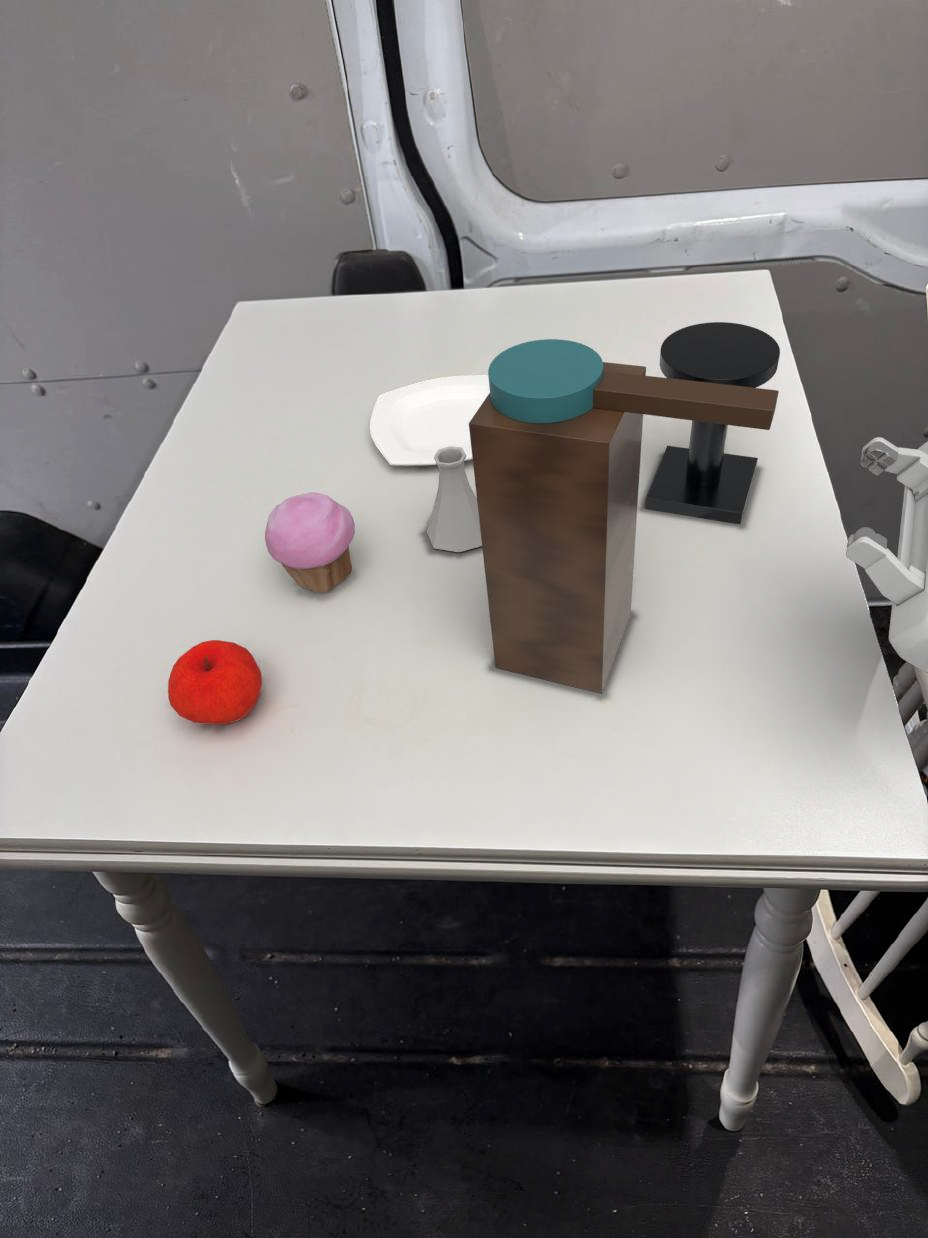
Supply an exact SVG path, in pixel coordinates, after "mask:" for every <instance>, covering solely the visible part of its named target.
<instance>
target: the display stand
mask: <svg viewBox="0 0 928 1238" xmlns="http://www.w3.org/2000/svg"><path fill="white" fill-rule="evenodd" d="M780 348H781V347H780V345H779V342H777V340H776V339H775V338H774V337H773V336H771V334H769V333H767V332H765V331H764V330H761V329H760V328H756V327H755V326H750V325H747V324H743V323H736V322H725V321H713V322H712V321H710V322H703V323H697V324H696V323H695V324H691V325H688V326H685V327H683V328H680V329H678V330H675V331H674V332H672V333H670V334H669V335H668V336H666V338H665V339H664V340H663V341H662V343H661V346H660V351H659V369H660V371H661V373H662V374H663V376H664V378H671V379H680V380H689V381H698V382H707V383H716V384H725V385H734V386H743V387H752V388H759V387H761V386H763V385H764V384H767V383H768V382H770V380H771V379H772V378H773V377H774V375H775V374H776V373H777V371H778V366H779V361H780V355H781V349H780ZM728 428H729V425H724V424H716V423H708V422H700V421H692V420H691V426H690V436H689V444H688V447H683V446H674V445H666V447H665V449H664V452H663V455H662V457H661V460H660V461H659V463H658V467H657V470H656V472H655V474H654V477H653V479H652V482H651V485H650V487H649V490H648V492H647V495H646V497H645V505H644V506H645V509H646V510H652V511H657V512H662V513H663V512H664V513H670V514H675V515H683V516H688V517H692V518H693V517H694V518H700V519H706V520H712V521H718V522H723V523H730V524H736V525H742V521H743V518H744V514H745V510H746V506H747V503H748V499H749V496H750V493H751V488H752V485H753V481H754V477H755V474H756V470H757V465H758V460H759V457H754V456H748V455H739V454H738V455H737V454H732V453H726V452H725V449H726V443H727V436H728Z"/></svg>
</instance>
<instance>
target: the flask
mask: <svg viewBox="0 0 928 1238" xmlns="http://www.w3.org/2000/svg"><path fill="white" fill-rule="evenodd" d="M434 459H435V461H436V463H437V468H438V486H437V491H436V494H435V499H434V504H433V508H432V512H431V515H430V518H429V521H428V525H427V529H426V534H427V536H428V539H429V541H430V544H431V545H432V547H433V549H435V550H441V551H449V552H454V553H462V552H465V551H469V550H473V549H476V548H479V547H482V540H481V531H480V522H479V513H478V504H477V495H475V492H474V490H473V488H472V486H471V484H470V481H469V479H468V476H467V472H466V467H465V459H466V454H465V452H464V450H463V448H461V447H453V446H449V447H446V448H442V449H438V451H437V453H436V454H435V456H434Z"/></svg>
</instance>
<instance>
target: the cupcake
mask: <svg viewBox="0 0 928 1238" xmlns="http://www.w3.org/2000/svg"><path fill="white" fill-rule="evenodd" d="M355 533H356V524H355V521H354V517H353V515H352V513H351V511H350V510H349V508H347V507H346V506H344V505H342V504H340V503H339V502H337V501H335V500H334V499H333V498H332V497H330V496H329V495H326V494H324V493H320V492H313V491H311V492H307V493H306V492H305V493H301V494H297V495H294V496H290V497H287V498H286V499H284V500H282V502H281V503H279V504H277V505H276V506H274V508H273V509H272V510H271V511H270V512H269V515H268V517H267V521H266V526H265V531H264V541H265V547H266V548H267V549H266V550H267V552H268V553H269V555H270V556H271V558H272V559H273V560H275V561H276V562H277V563H278V562H279V563H280V564H281V566H282V567H283V568H284V569H285V571H286V572H287V573H288V575H290V577H291V578H292V579H294V581H295V582H296V583H297V584H298V586H299V587H300V588H306V589H308V590H310V591H312V592H313V593H318V594H326V593H329V592H331V591H332V590H333V589H334V588H336V587H337V586H338V585H339V584H340V583H342V582H343V581H345V580H346V579H347V577H348V576H349V575H350V574H351V573H352V570H353V567H352V560H351V552H350V545H351V543H352V541H353V539H354V537H355Z"/></svg>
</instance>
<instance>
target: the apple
mask: <svg viewBox="0 0 928 1238" xmlns="http://www.w3.org/2000/svg"><path fill="white" fill-rule="evenodd" d="M262 677H263V676H262V671H261V669H260V667H259V665H258V664H257V661H256V660H255V657H254V656H253V654H252V653H251V652H250V650H248V648H246V647H245V646H242V645H240V644H237V643H236V642H234V641H233V642H232V641H226V640H219V639H212V640H207V641H206V640H205V641H202V642H199V643H197V644H196V645H193V646H192V647H190V649H188V650H187V651H185V652H184V653H182V655H180V656H179V657H178V658H177V660H176V662H175V663H174V664H173V665H172V668H171V671H170V673H169V678H168V683H167V699H168V701H169V705H170V706H171V708H172V709H173V711H175V713H176V714H177V715H178V716H179V717H182V718H183V719H186V720H187V721H190V722H192V723H193V724H202V725H203V724H205V725H216V726H217V725H226V724H232V723H234V722H237V721H240V720H242V719H243V718H244V717H246V716H247V715H248V714H249V713H250V712H251V711H252V710H253V708H254V707H255V706H256V704H257V703H258V700H259V698H260V696H261V692H262V691H261V690H262V683H263V681H262V679H263V678H262Z"/></svg>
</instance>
